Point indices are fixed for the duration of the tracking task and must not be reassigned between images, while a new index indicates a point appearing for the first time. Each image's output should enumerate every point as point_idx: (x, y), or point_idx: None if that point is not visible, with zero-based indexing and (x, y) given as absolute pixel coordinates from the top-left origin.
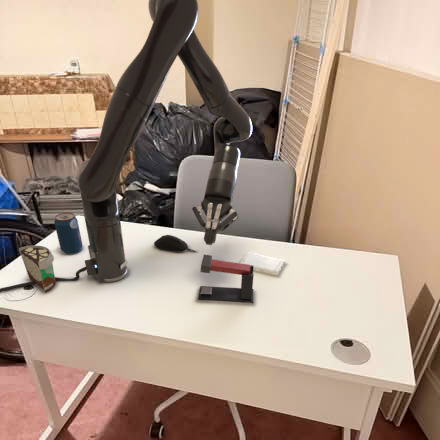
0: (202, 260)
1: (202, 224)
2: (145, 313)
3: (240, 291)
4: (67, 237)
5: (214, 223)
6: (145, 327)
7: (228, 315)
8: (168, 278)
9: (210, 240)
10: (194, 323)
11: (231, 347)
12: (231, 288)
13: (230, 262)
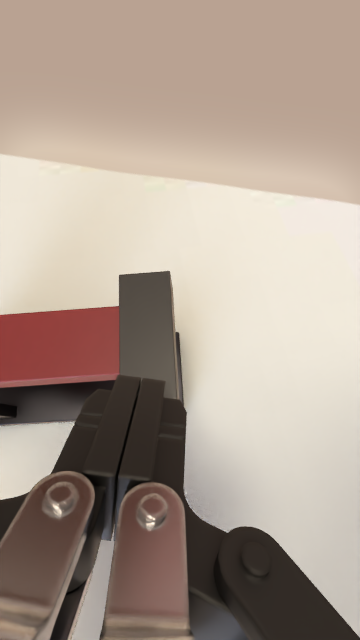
0: (171, 324)
1: (240, 539)
2: (319, 259)
3: (19, 398)
4: None
5: (44, 561)
6: (294, 207)
7: (70, 279)
8: (327, 475)
9: (119, 384)
10: (169, 234)
11: (61, 163)
12: (56, 414)
13: (8, 375)
